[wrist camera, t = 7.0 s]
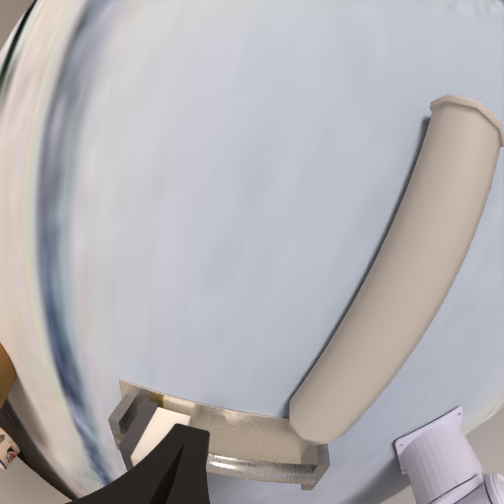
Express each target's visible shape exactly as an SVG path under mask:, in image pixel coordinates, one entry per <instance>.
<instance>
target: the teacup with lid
mask: <svg viewBox="0 0 504 504" xmlns="http://www.w3.org/2000/svg"><path fill="white" fill-rule="evenodd" d="M19 452H20V448H19V447H18V445H17V444H16V443H15V441H14V440H13V439H12V438H11V437H10V436H9V435H8V434H7V433H6V432H5V431H4V430H3V429H2V428H1V427H0V468H2V469H4V470H5V469H7V466H8V465H9V464H10V463H11V462H12V460H13V459H14V458H15V457H16V456H17V455H18V453H19Z"/></svg>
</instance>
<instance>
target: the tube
mask: <svg viewBox="0 0 504 504" xmlns="http://www.w3.org/2000/svg"><path fill="white" fill-rule="evenodd" d="M430 109H431V111H432V115H431V119H430V122H429V125H428V129H427V132H426V135H425V138H424V142H423V145H422V148H421V151H420V154H419V157H418V160H417V162H416V165H415V168H414V171H413V173H412V176H411V179H410V181H409V184H408V187H407V189H406V192H405V194H404V197H403V199H402V202H401V204H400V207H399V209H398V211H397V214H396V216H395V218H394V221H393V223H392V225H391V227H390V230H389V232H388V234H387V236H386V238H385V241H384V243H383V245H382V247H381V249H380V251H379V253H378V255H377V257H376V259H375V261H374V263H373V265H372V267H371V269H370V271H369V273H368V275H367V277H366V279H365V281H364V283H363V285H362V287H361V288H360V290H359V292H358V294H357V296H356V298H355V299H354V301H353V303H352V305H351V307H350V308H349V310H348V312H347V314H346V315H345V317H344V319H343V320H342V322H341V324H340V326H339V327H338V329H337V331H336V332H335V334H334V335H333V337H332V339H331V340H330V342H329V344H328V345H327V347H326V348H325V350H324V351H323V353H322V355H321V356H320V358H319V359H318V361H317V362H316V364H315V365H314V367H313V368H312V370H311V371H310V373H309V374H308V376H307V377H306V379H305V380H304V381H303V383H302V384H301V386H300V387H299V389H298V390H297V391H296V393H295V394H294V396H293V397H292V398H291V400H290V401H289V426H288V429H289V430H290V431H291V432H293V433H294V434H295V435H296V436H297V437H298V438H300V439H301V440H303V441H305V442H307V443H310V444H312V445H315V446H318V445H322V444H326V443H329V442H331V441H333V440H335V439H337V438H339V437H341V436H343V435H344V434H345V433H346V432H347V431H348V430H349V429H350V428H351V427H352V426H353V425H354V424H355V423H356V422H357V421H358V420H359V418H360V417H361V416H362V415H363V414H364V413H365V412H366V411H367V410H368V408H369V407H370V406H371V405H372V404H373V403H374V401H375V400H376V399H377V398H378V397H379V395H380V394H381V393H382V392H383V391H384V389H385V388H386V387H387V386H388V384H389V383H390V382H391V380H392V379H393V378H394V377H395V375H396V374H397V373H398V371H399V370H400V369H401V367H402V366H403V364H404V363H405V362H406V360H407V359H408V357H409V356H410V355H411V353H412V352H413V350H414V349H415V347H416V346H417V344H418V343H419V341H420V340H421V338H422V336H423V335H424V333H425V332H426V330H427V329H428V327H429V325H430V324H431V322H432V320H433V319H434V317H435V315H436V314H437V312H438V310H439V308H440V306H441V305H442V303H443V301H444V299H445V297H446V295H447V294H448V292H449V290H450V288H451V286H452V284H453V282H454V280H455V278H456V276H457V274H458V272H459V270H460V267H461V265H462V263H463V261H464V259H465V256H466V254H467V252H468V249H469V247H470V245H471V242H472V240H473V237H474V235H475V232H476V229H477V227H478V224H479V221H480V219H481V216H482V213H483V210H484V207H485V204H486V201H487V197H488V194H489V191H490V187H491V184H492V180H493V176H494V172H495V168H496V164H497V160H498V155H499V151H500V148H501V147H504V134H503V129H502V124H501V122H500V121H499V120H498V119H497V118H496V117H495V116H494V115H493V114H492V113H491V112H490V111H489V110H488V109H487V108H486V107H485V106H483V105H482V104H481V103H480V102H479V101H478V100H474V99H469V98H465V97H460V96H455V95H449V94H447V95H445V96H443V97H441V98H439V99H437V100H435V101H433V102H431V105H430Z"/></svg>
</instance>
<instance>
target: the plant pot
mask: <svg viewBox="0 0 504 504" xmlns="http://www.w3.org/2000/svg"><path fill="white" fill-rule="evenodd" d="M15 377H16V374H15V370H14V367H13V365H12V362H11V360H10V358H9V356H8V354H7V353H6V351H5V350H4V348H3V347H2V345H1V344H0V410H1V408H2V406H3V404H4V402H5V400H6V398H7V396H8V394H9V392H10V389H11V387H12V385H13V383H14V380H15Z"/></svg>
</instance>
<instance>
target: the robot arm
mask: <svg viewBox="0 0 504 504" xmlns="http://www.w3.org/2000/svg"><path fill="white" fill-rule="evenodd" d="M462 413H463V408H462V407H461V406H459V407H457V408H456V409H454V410H452V411H451V412H449V413H447V414H446V415H444V416H442V417H441V418H439V419H437V420H435V421H433V422H432V423H430V424H428V425H426V426H424V427H422V428H420V429H418V430H416V431H414V432H412V433H410V434H408V435H406V436H404V437H402V438H399V439H397V440H396V441H395V447H396V451H397V455H398V459H399V464H400V468H401V472H402V474H403V475H404V474H408V477H409V480H410V483H411V487H412V490H413V493H414V496H415V500H416V503H417V504H504V477H503V475H502V474H500V473H498V472H497V473H494V472H491V473H489V474H488V475H486V474H485V473H484V471H483V469H482V467H481V465H480V463H479V461H478V459H477V458H476V456H475V454H474V452H473V450H472V448H471V446H470V444H469V443H468V441H467V439H466V437H465V435H464V434H463V432H462V430H461V424H462ZM209 439H210V432H208V431H207V430H203V429H198V428H194V427H190V426H187V425H183V424H179V423H176V424H174V426H173V427H172V428H171V430H170V431H169V432H168V433H167V435H166V436H165V437H164V438H163V439H162V440H161V441H160V442H159V444H158V445H157V446H156V447H155V448H154V449H153V450H152V451H151V452H150V453H149V454H148V455H147V456H145V457H144V458H143V459H142V460H141V461H140V462H139V463H137V464H136V465H135V466H134V467H133V468H131V469H130V470H129V471H128V472H126V473H125V474H123V475H122V476H121V477H119V478H118V479H116V480H115V481H113V482H112V483H110V484H108V485H106V486H105V487H103V488H101V489H99V490H97V491H95V492H93V493H91V494H89V495H87V496H84V497H82V498H79V499H77V500H74V501H71V502H68V503H65V504H210V501H209V494H208V487H207V475H206V463H207V458H208V451H209Z"/></svg>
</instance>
